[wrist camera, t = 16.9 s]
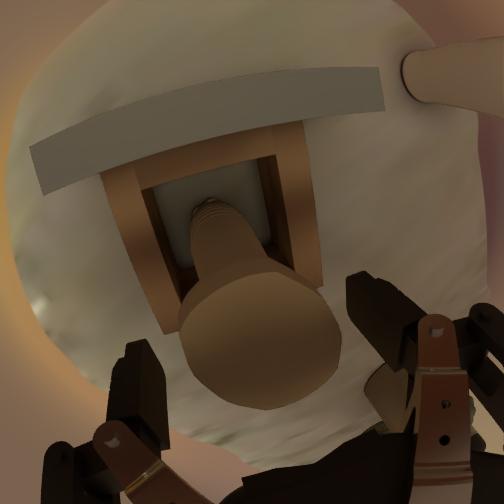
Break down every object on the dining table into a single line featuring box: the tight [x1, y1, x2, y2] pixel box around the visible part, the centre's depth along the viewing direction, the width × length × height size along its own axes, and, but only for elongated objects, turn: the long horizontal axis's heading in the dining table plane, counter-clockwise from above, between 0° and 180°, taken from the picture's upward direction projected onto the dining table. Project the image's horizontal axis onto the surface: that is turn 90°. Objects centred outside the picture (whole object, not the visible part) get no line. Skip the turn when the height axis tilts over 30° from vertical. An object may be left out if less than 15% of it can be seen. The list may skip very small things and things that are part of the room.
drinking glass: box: [402, 36, 504, 119], centre depth 15 cm, size 7×7×15 cm
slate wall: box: [29, 67, 385, 196], centre depth 15 cm, size 2×17×9 cm, turn 102°
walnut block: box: [100, 120, 323, 335], centre depth 20 cm, size 12×12×5 cm
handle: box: [178, 198, 342, 410], centre depth 16 cm, size 5×6×15 cm
